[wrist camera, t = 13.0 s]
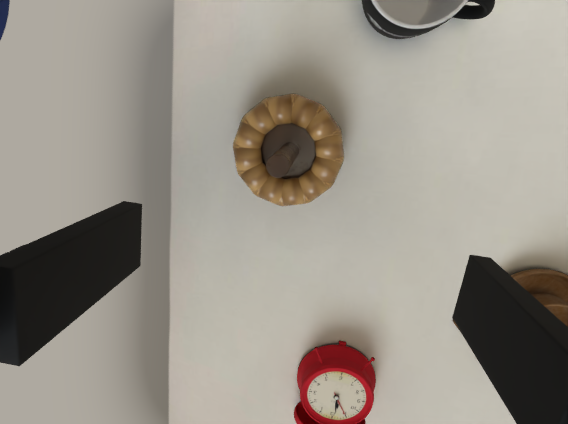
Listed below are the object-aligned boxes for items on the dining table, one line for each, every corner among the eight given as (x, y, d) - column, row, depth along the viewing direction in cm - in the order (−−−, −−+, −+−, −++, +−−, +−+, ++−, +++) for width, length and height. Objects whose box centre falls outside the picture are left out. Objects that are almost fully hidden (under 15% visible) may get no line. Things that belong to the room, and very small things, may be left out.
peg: (243, 143, 45) (211, 156, 32) (297, 100, 43) (286, 95, 30) (285, 197, 46) (270, 229, 33) (339, 156, 44) (345, 175, 31)
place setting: (568, 228, 43) (604, 246, 38) (665, 347, 46) (714, 381, 40) (440, 316, 48) (456, 343, 42) (535, 420, 50) (562, 460, 44)
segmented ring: (216, 140, 44) (209, 142, 41) (299, 71, 41) (297, 69, 38) (280, 220, 46) (277, 228, 43) (363, 160, 43) (366, 164, 40)
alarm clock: (388, 360, 46) (368, 478, 47) (378, 341, 52) (361, 445, 53) (302, 345, 47) (284, 462, 47) (303, 328, 53) (288, 431, 54)
